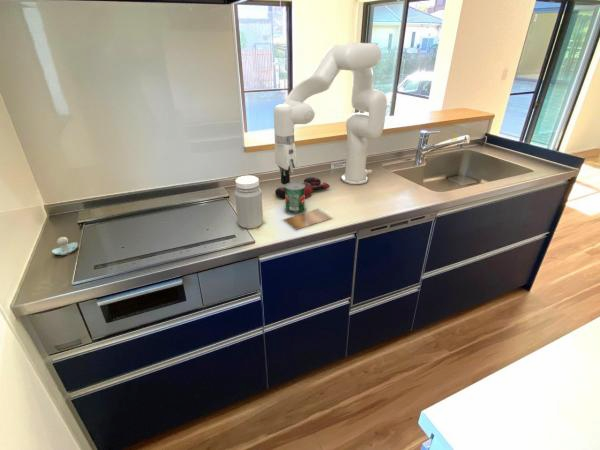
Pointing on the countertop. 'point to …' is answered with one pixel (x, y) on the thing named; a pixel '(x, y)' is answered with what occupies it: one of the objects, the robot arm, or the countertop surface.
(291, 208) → the canned tomato
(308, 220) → the mat
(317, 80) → the robot arm
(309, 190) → the toy motorcycle
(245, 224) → the jar
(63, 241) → the pacifier
